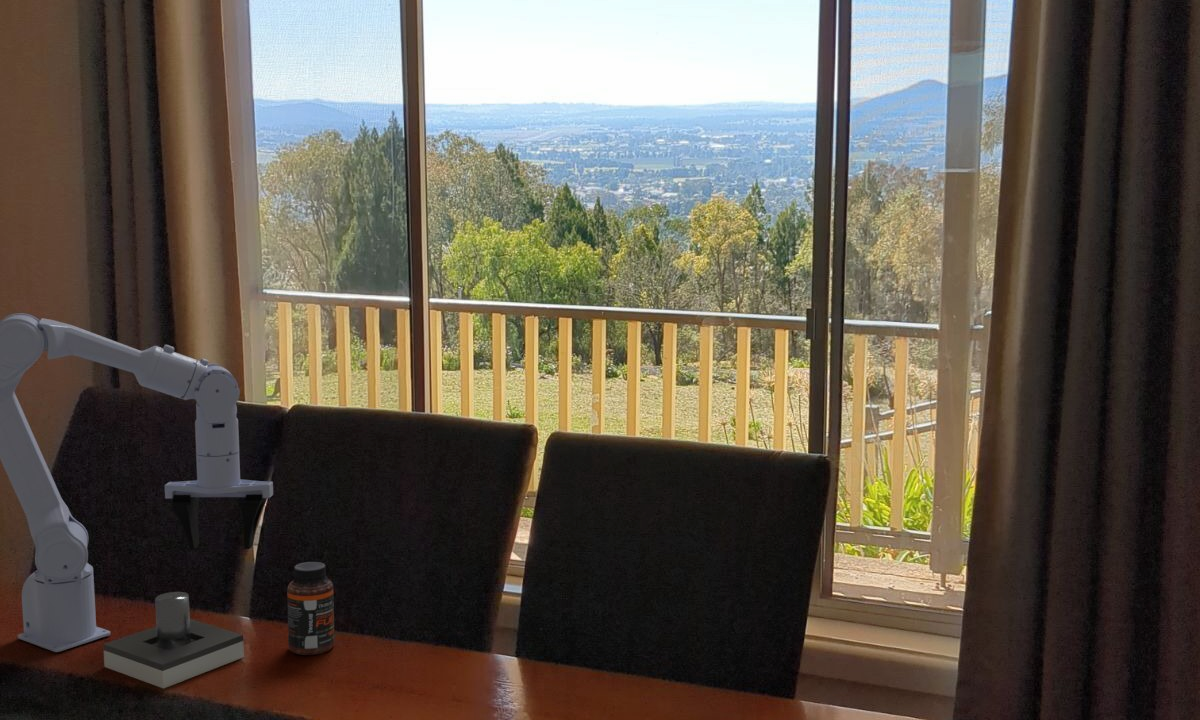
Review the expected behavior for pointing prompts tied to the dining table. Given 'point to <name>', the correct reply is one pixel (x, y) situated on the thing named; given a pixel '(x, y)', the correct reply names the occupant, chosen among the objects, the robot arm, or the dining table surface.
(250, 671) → the dining table surface
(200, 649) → the socket
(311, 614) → the supplement bottle
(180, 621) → the steel peg
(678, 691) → the dining table surface
